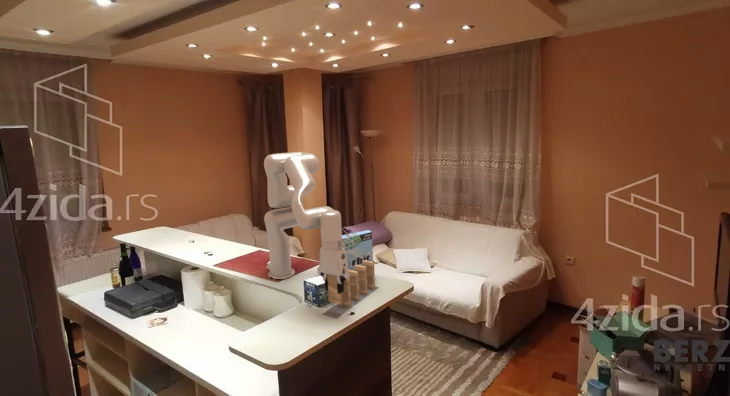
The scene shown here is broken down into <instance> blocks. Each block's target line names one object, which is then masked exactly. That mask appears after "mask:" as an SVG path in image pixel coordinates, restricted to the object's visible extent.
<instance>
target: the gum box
mask: <svg viewBox="0 0 730 396" xmlns="http://www.w3.org/2000/svg"><path fill="white" fill-rule="evenodd" d="M342 243H344V244H345V245H344V247H343V248H345V252H346V256H347V262H348V269H349V270H354V265H356V264H357V265H362V261H363V260H368V261H373V262H374V260H373V259H374V255H373V254H374V253H373V231H371V230H369V229H362V230H359V231H354V232H350V233H349V232H348V233H345V234H342ZM343 274H344V273H343ZM344 276H345V274H344Z"/></svg>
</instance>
